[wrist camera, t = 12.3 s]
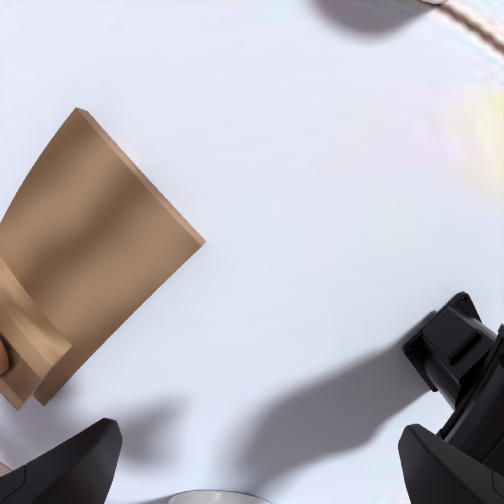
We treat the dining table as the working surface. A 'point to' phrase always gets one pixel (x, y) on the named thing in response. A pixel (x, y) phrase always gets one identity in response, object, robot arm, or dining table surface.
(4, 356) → the plug
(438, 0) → the white cup
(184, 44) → the dining table surface
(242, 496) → the utensil holder
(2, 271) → the wooden socket base
